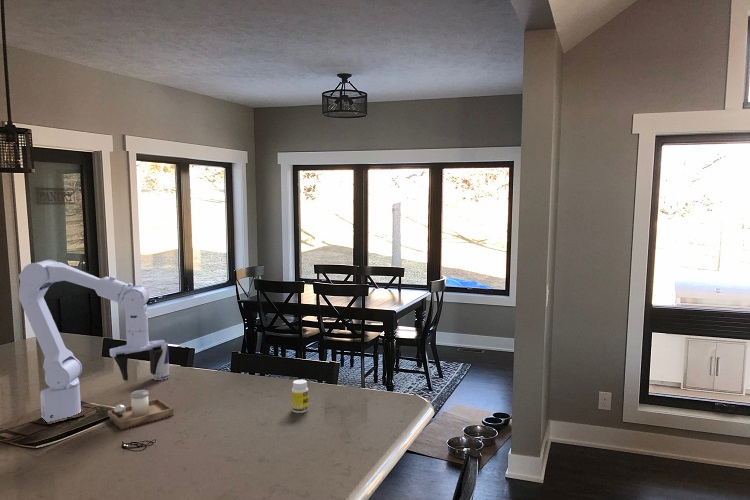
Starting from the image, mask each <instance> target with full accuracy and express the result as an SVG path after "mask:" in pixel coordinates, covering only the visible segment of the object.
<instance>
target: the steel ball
mask: <svg viewBox="0 0 750 500" xmlns="http://www.w3.org/2000/svg"><path fill="white" fill-rule="evenodd" d="M113 410H114V413H115V414H116V415H118V416H121V415H123V414H124V413H125V412H126V406H125V405H124V404H117V405H116V406H115V407H114V409H113Z"/></svg>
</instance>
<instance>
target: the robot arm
mask: <svg viewBox="0 0 750 500" xmlns="http://www.w3.org/2000/svg"><path fill="white" fill-rule="evenodd" d="M18 279H19V282H20V283H19V291H18V299H19V302H20V304H21V307H22V309H23V311H24V314H25V316H26V318H27V320H28V322H29V324H30V326H31V329H32V331H33V333H34V336H35V338H36V340H37V342H38V344H39V346H40V349H41V351H42V353H43V356H44V359H43V364H42V365H43V366H42V368H43V370H44V382H45V383H46V385H47V386H48V388H45V389H42V390H40V396H39V397H40V398H39V399H40V411H41V412H40V413H41V416H40V418H41V417H42V418H43V419H44V420H45V421H46V422H50V421H55V420H58V419H62V418H67V417H71V416H73V415H76V414H78V413H80V412H81V410H82V409H81V408H82V407H81V406H82V405H81V390H80V389H81V387H80V379H79V376H80V375H81V374H82V371H83V365H82V363H81V361H80V360H79V359H78V358H76V357H75V355H74V353H73V352H72V350H70V349H68V348H67V347H66V345H65V343H64V341H63V338H62V336H61V334H60V331H59V330H58V327H57V324H56V322H55V320H54V319H53V315H52V313H51V311H50V309H49V307H48V305H47V302H46V300H45V298H44V297H45V295H46V293H47V291H48V290H49V288H50V286H52V285H53V284H54V283H56V282H58V283H59V282H63V281H65V282H68V283H72V284H75V285H79V286H82V287H85V288H89V289H92V290H94V291H95V293H96V294H97V296H99V297H102V298H105V299H106V300H110V301H113V302H115V303H119V304H122V306H123V307H124V309H125V330H126V331H125V337H126V344H124V345H121V346H118V347H113V348H109V356H110V357H111V358H113V359H114V361H115V362H116V363H117V366H118V369H119V370H120V371H119V372H120V373H121V376H122V379H123V381H128V380H129V379H128V377H129V376H128V361H129V358H128V357H127V354H133V353H140V352H143V351H144V352H145V351H148V355H149V356H148V357H149V366H150V367H149V371H150V374H153V375H154V374H156V368H157V365H158V362H159V359H160V357H161V355H162V353H163V349H161V348H165V342H166V341H165V340H164V339H159V340H151V341H150V339H149V338H150V337H149V315H148V304H147V303H148V301H149V299H150V293H149V291H148V290H147V289H146V287H144V286H142V285H140V284H139V285H134V284H133V283H131V282H129V283H127V282H124V281H121V280H118V279H117V276H114V275H111V276H104V277H102V278H100V277H97V276H95V275H93V274H90V273H88V272H86V271H82V270H81V269H78V268H75V267H74V266H73V267H72V266H70V265H68V264H66V263H64V262H60V261H58V262H57V261H56V260H54V259H45V260H42V261H38V262H32V263H29V264H27V265H26V266H24V267H23V269H22V270H21V271H20V273H19V274H18ZM133 285H134V286H133ZM52 415H53V417H51V416H52ZM42 418H41V419H42ZM43 419H42V420H43ZM44 420H43V421H44ZM45 421H44V422H45Z"/></svg>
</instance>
